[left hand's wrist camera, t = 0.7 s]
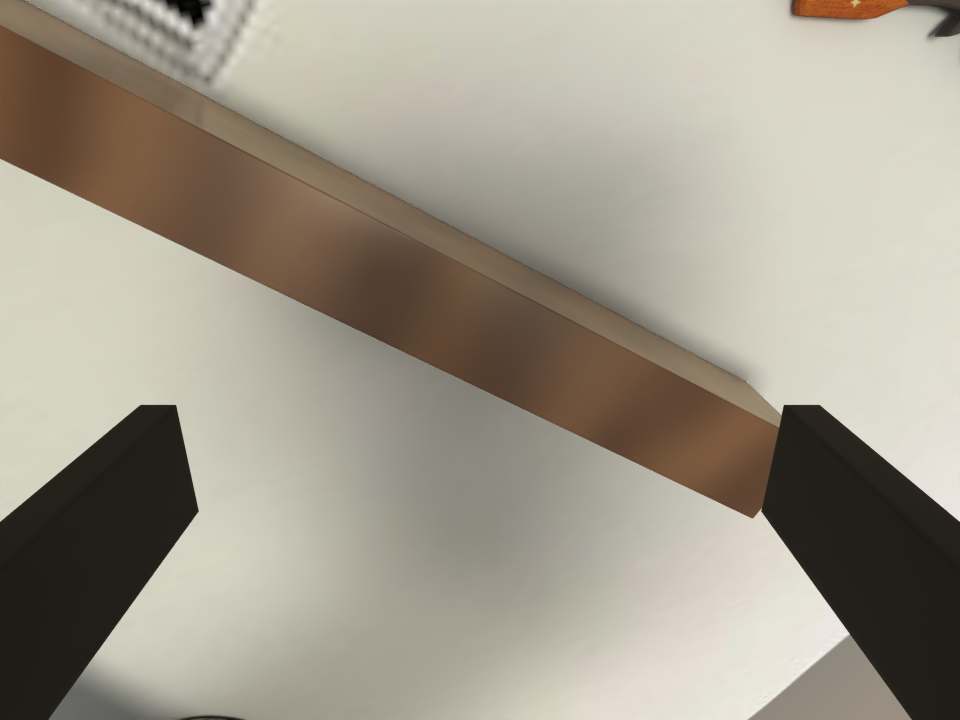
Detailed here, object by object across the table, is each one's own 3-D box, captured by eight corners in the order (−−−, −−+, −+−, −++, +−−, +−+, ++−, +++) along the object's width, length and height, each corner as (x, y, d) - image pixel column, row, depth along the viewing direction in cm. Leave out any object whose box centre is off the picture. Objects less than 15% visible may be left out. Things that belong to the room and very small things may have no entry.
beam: (747, 382, 37) (814, 445, 30) (700, 444, 39) (753, 519, 31) (-357, -200, 26) (-680, -327, 19) (-358, -81, 28) (-656, -155, 21)
